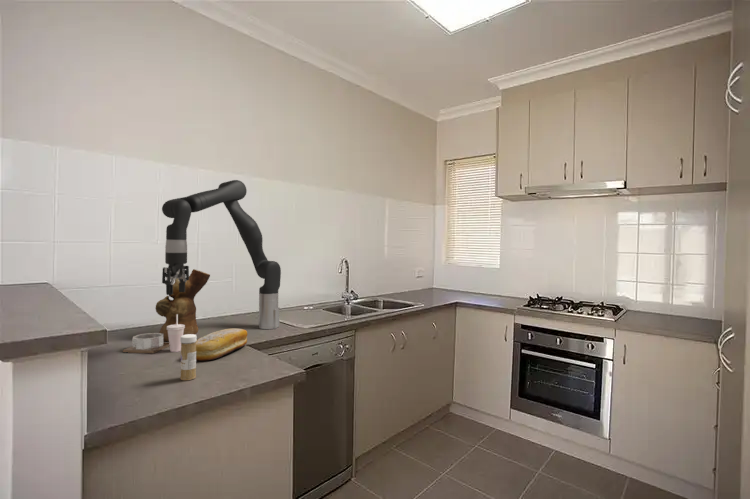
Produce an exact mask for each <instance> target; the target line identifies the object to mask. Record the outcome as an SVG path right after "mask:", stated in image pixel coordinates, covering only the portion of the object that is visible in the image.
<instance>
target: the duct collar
mask: <svg viewBox="0 0 750 499" xmlns="http://www.w3.org/2000/svg"><path fill="white" fill-rule="evenodd" d="M131 341H132V343H131V344H132V346H128V347H126V348H124V349H122V353H123V352H128V354H129V353H130V354H156V353H158V352H160V351H163V350H164V349H167V348H170V345H169V342H166V341H163V334H161V333H159V332H152V333H151V332H148V333H146V332H145V333H140V334H137V335H133V336H132V340H131Z"/></svg>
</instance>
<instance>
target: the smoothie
mask: <svg viewBox="0 0 750 499" xmlns="http://www.w3.org/2000/svg"><path fill="white" fill-rule="evenodd" d="M184 328H185V325H183V324H178V314H176V324H174V325H169V326H167V330H168V337H169V342H168V343H169V345H170V346H169V351H170V352H171V353H177V352H181V342H180V338H181V336H182V335H183V332H184Z"/></svg>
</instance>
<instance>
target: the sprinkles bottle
mask: <svg viewBox="0 0 750 499" xmlns="http://www.w3.org/2000/svg"><path fill="white" fill-rule="evenodd" d="M197 338H198V336H197V334H186V335H182V336H181V338H180V342H181V351H180V376H179V377H180V378H179V379H180V380H181V381H190V380H194V379H196V378H197V374H196V372H197V371H196V370H197V360H196V341H197Z"/></svg>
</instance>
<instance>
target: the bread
mask: <svg viewBox="0 0 750 499" xmlns="http://www.w3.org/2000/svg"><path fill="white" fill-rule="evenodd" d="M247 343H248V330H246V329H243V328H236V327H235V328H225V329H220V330H217V331H213V332H211V333H208V334H206V335H204V336H202V337H199V338H198V339H197V341H196V362H207V361H213V360H216V359H219V358H221V357H223V356H226V355H228V354H230V353H234V352H236V351H237V350H240V349H242V348H243V347H245V346H246V344H247Z"/></svg>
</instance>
